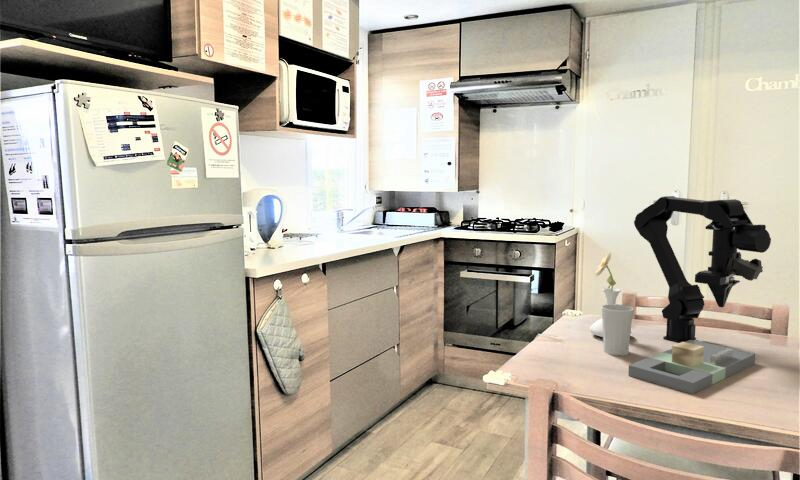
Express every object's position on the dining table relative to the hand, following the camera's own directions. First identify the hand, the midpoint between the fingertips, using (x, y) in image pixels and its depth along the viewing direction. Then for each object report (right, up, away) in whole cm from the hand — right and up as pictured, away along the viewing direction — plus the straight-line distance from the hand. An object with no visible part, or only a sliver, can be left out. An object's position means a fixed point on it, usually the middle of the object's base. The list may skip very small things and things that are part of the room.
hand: (721, 307), depth 154 cm
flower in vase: (-24, -11, +16) cm, 30 cm away
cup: (-27, -12, +2) cm, 30 cm away
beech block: (-16, -11, -15) cm, 25 cm away
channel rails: (-10, -11, -10) cm, 18 cm away
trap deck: (-13, -14, -12) cm, 23 cm away
